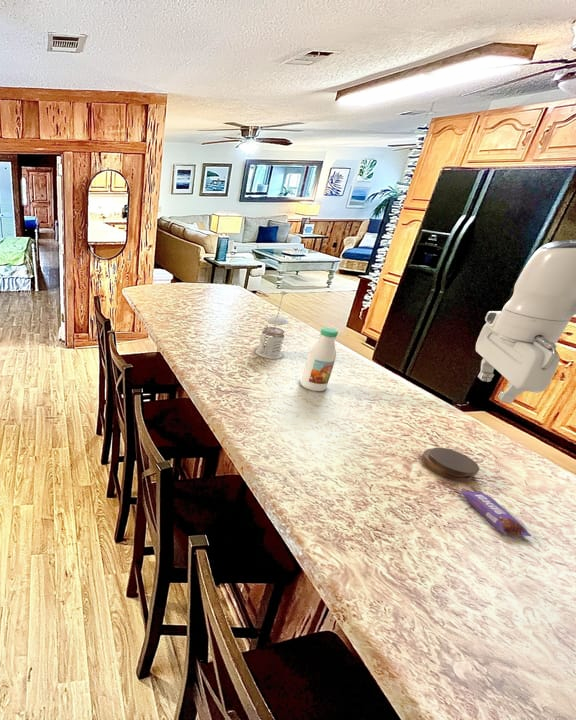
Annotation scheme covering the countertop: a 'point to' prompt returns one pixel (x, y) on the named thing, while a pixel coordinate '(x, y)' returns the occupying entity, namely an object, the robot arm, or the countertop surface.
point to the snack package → (495, 513)
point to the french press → (273, 342)
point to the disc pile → (450, 464)
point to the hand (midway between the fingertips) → (493, 389)
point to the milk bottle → (320, 361)
